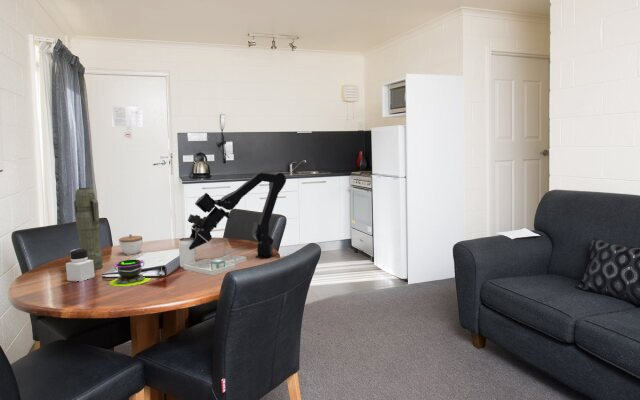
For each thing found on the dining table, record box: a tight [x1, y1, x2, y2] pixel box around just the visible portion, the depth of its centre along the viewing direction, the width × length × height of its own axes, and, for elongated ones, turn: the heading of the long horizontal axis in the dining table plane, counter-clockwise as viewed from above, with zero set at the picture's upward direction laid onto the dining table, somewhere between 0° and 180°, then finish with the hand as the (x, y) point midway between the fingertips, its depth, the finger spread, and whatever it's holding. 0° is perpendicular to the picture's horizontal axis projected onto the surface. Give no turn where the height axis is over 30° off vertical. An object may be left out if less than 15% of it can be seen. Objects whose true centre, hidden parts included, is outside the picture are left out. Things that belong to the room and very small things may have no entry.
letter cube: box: [211, 259, 225, 270], centre depth 191 cm, size 4×4×4 cm
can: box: [178, 237, 197, 268], centre depth 201 cm, size 6×6×12 cm
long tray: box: [183, 258, 237, 276], centre depth 195 cm, size 12×18×2 cm
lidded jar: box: [118, 234, 143, 256], centre depth 231 cm, size 11×11×9 cm
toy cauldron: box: [109, 252, 152, 287], centre depth 182 cm, size 15×15×11 cm
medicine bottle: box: [65, 248, 96, 283], centre depth 187 cm, size 7×7×12 cm
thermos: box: [73, 187, 104, 271], centre depth 202 cm, size 9×12×35 cm
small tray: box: [212, 254, 248, 265], centre depth 205 cm, size 10×10×2 cm
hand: (187, 247), depth 201 cm, fingers open, 9 cm apart
